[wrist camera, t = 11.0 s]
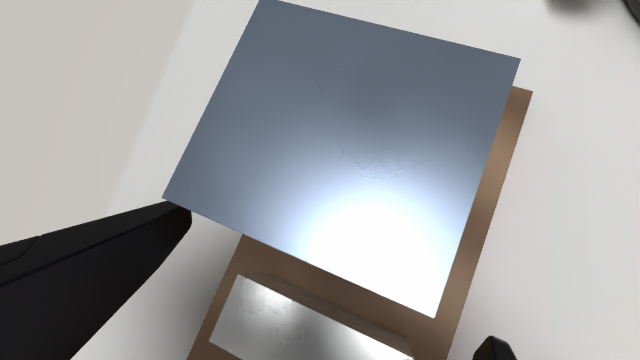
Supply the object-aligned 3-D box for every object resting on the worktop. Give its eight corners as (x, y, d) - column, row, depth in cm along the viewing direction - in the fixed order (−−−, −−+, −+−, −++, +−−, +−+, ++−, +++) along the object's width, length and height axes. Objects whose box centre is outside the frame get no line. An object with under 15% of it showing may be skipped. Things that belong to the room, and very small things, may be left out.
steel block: (390, 273, 17) (433, 318, 4) (310, 240, 18) (162, 197, 5) (416, 201, 17) (521, 58, 5) (338, 173, 18) (260, -5, 6)
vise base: (343, 655, 14) (329, 825, 10) (132, 499, 17) (50, 581, 13) (524, 99, 19) (570, 52, 14) (332, 47, 22) (321, -5, 17)
